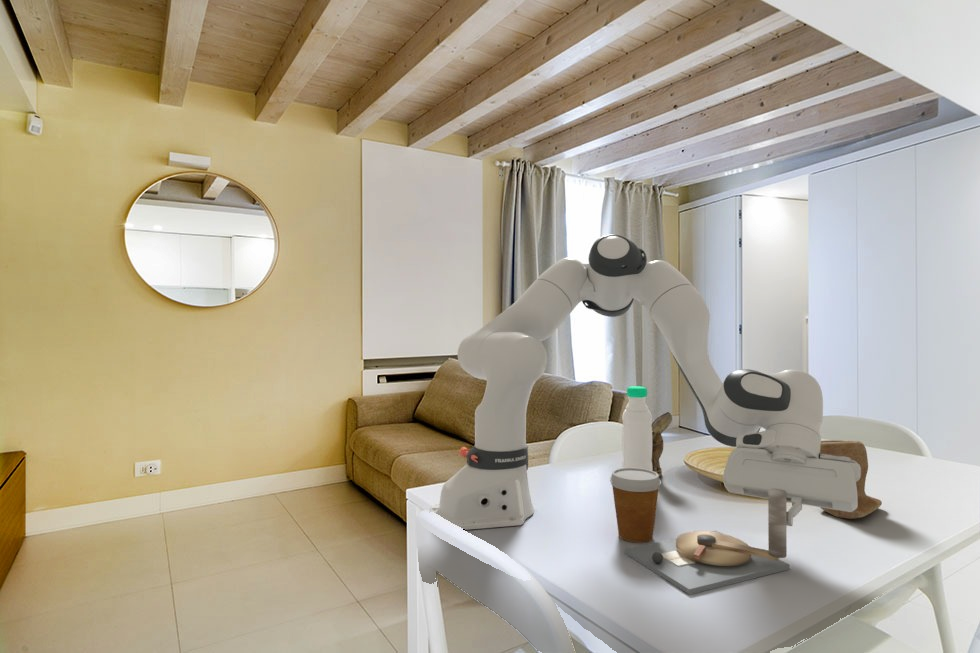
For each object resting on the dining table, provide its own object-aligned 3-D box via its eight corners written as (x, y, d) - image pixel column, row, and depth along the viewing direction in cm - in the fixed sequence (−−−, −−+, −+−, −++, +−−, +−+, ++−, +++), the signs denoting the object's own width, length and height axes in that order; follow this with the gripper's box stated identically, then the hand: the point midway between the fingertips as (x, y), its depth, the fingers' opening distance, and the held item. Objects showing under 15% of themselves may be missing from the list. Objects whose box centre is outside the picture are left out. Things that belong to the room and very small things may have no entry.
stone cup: (827, 495, 128) (827, 431, 128) (888, 509, 119) (888, 439, 119) (799, 510, 119) (799, 440, 119) (863, 526, 109) (863, 450, 109)
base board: (689, 594, 83) (689, 577, 83) (624, 553, 98) (624, 538, 98) (789, 569, 91) (789, 553, 91) (715, 534, 106) (715, 521, 106)
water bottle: (649, 486, 137) (649, 385, 136) (655, 495, 130) (654, 388, 129) (620, 485, 137) (620, 385, 137) (624, 494, 130) (624, 388, 130)
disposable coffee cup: (603, 527, 110) (603, 467, 110) (650, 526, 110) (650, 466, 110) (619, 547, 100) (618, 481, 100) (669, 545, 101) (669, 480, 101)
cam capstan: (665, 557, 93) (664, 486, 92) (686, 531, 104) (685, 468, 103) (781, 584, 83) (780, 505, 83) (790, 553, 94) (790, 482, 94)
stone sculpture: (655, 486, 137) (654, 413, 136) (619, 472, 149) (618, 406, 148) (681, 481, 141) (681, 410, 140) (644, 468, 153) (644, 403, 152)
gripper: (861, 468, 94) (859, 546, 87) (733, 453, 106) (722, 520, 99) (860, 448, 90) (858, 527, 83) (727, 434, 102) (715, 503, 95)
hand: (783, 523), depth 91 cm, fingers closed, pressing on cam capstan
